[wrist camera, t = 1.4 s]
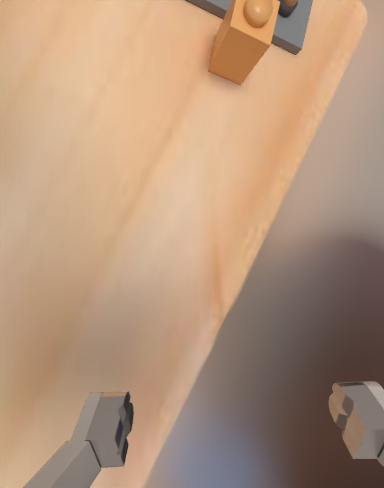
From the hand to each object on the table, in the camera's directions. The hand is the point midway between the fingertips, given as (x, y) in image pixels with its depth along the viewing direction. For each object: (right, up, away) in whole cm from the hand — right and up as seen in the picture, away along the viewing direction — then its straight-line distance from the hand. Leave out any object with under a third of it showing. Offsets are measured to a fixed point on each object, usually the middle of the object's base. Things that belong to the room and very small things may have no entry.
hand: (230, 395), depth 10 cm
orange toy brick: (+5, +37, +30) cm, 48 cm away
